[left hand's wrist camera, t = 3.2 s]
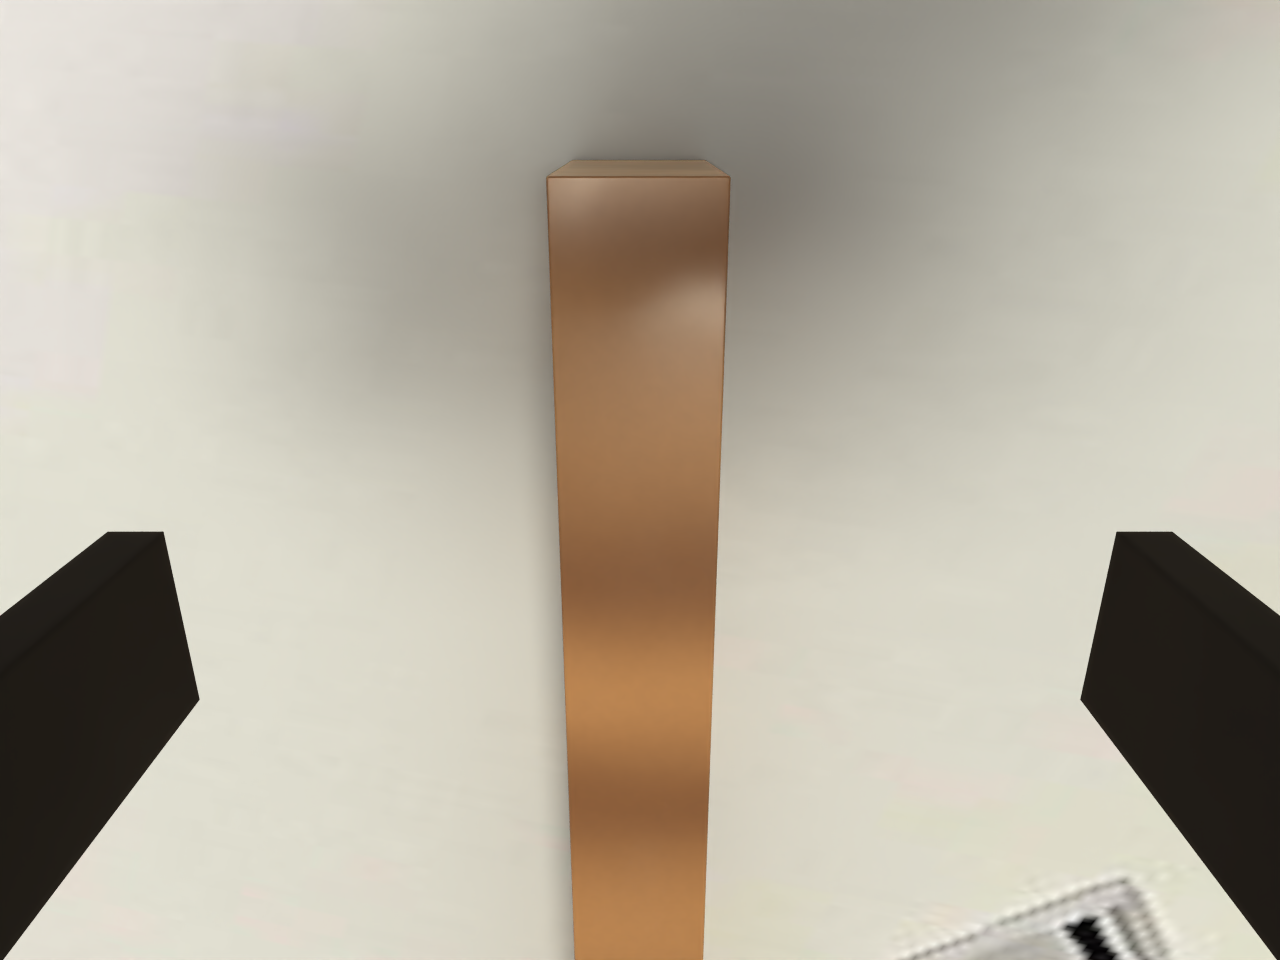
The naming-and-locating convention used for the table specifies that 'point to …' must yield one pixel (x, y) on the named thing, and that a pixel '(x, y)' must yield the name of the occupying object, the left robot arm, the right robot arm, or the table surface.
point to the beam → (638, 536)
